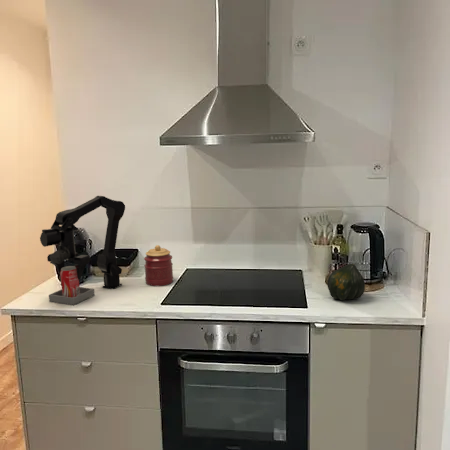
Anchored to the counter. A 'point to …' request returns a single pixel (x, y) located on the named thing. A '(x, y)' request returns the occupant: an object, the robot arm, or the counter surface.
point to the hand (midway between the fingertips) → (70, 278)
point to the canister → (158, 267)
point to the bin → (59, 298)
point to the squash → (346, 283)
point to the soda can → (69, 281)
